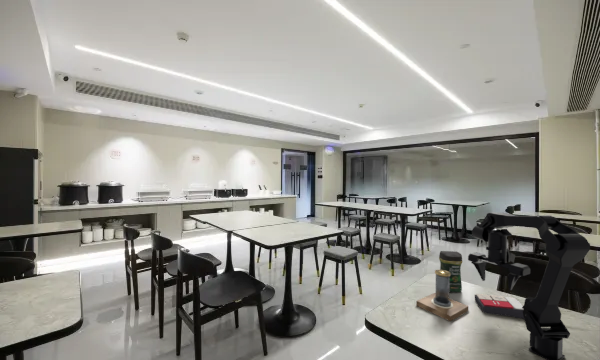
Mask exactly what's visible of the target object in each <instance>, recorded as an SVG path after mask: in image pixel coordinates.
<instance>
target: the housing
mask: <svg viewBox="0 0 600 360" xmlns="http://www.w3.org/2000/svg"><path fill="white" fill-rule="evenodd" d="M434 273H435V290H434V291H435V292H434V293H435V298H434V299H433V301H434V303H435V304H437V305H439V306H443V307H450V306H451V301H450V300H449V299H450V292H449V276H450V272H448V271H445V270H440V269H435V270H434Z"/></svg>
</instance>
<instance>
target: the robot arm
mask: <svg viewBox="0 0 600 360" xmlns="http://www.w3.org/2000/svg"><path fill="white" fill-rule="evenodd" d="M481 221H482V222H476V225H475V226H474V227H473V228H472V230H471V235H472V236H473V238H474V239H478V240H481V241H483V242H486V243H487V246H486V247H485V250H487V255H486V254H484V253H480V252H472V253H471V252H470V253H469V254H468V256H467V260H468V262H471V264H472V265H473V266H474V268H475V269H476V271H477V273H478V275H479V276H480V278H481V281H482V282H485V281H486V266H487V264H491V265H494V266H496V267H500V268H505V269H506V270H507V269H508V271H509V272H508V273H507V277H508V282H507V283H508V284H507V285H508V290H509V291H512V290H513V288H514V286H515V285H516V283H517V281H518V280H519V278H520V277H525V276H527V275H530V274H531V268H530V266H529V265H527V264H522V263H520V262H515V258H516V254H514V253H512V252H510V248H508V246H507V245H508V237H512V236H513V235H512V233H511V232H510V231H509V230H508V228H512V227H513V228H514V227H521V228H523V227H526V228H536V229H537V232H538V235H539V236H538V237H539V238H540V239H541V240H542V241H543V242H544V243H545V244H546V246H545V252H546V254H547V255H548V258H549V259H548V263H547V265H546V268H545V271H544V274H543V276H542V279H541V282H540V285H539V289H538V290H537V293H536V296H535V297H526V298H525V299H524V303H523V304H524V305H523V307H522V308H523V316H524V319H523V320H524V323H525V327H526V330H527V331H528V332H530V333H529V348H528V351H529V352H531V353H534V354H536V355H537V356H539V357H541V358H543V359H545V360H563V359H565V358H566V355H564V354H563V349H564V348H563V347H564V346H563V342H564V341H563V340H564V339H569V337H570V335H571V333H570V331H569V329H568V328H567V326H566V325H565V323H564V322H563V321H562V312H561V309H560V307H559V303H560V301H561V298H562V295H563V293H564V290H565V288H566V285H567V282H568V280H569V277H570V275H571V273H572V269H573V268H574V266H575V265H577V264H578V263H579V262H581V261H583V260H584V259H585V257H586V256H587V254H588V253H589V251H590V250H591V243H590V242H589V241H588V239H587V238H586V237H585V236H583V235H582V234H580V233H579V232H578V231H577V230H576V229H574V228H572V227H570V226H568V225H567V224H564V223H563V222H561V221H560V220H559V219H558V218H556V217H555V216H552V215H514V214H512V213H507V212H488V213H486V215H485V216H484V218H483V220H481ZM551 231H552V232H551ZM553 232H554V233H553Z"/></svg>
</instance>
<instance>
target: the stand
mask: <svg viewBox="0 0 600 360" xmlns="http://www.w3.org/2000/svg"><path fill="white" fill-rule="evenodd" d="M434 298H435V292H433V293H430V294H429V295H427V296H424V297H422V298H419V299H417V300H416V303H415V304H416V307H419V308H421V309H423V310H425V311H426V312H430V313H431V314H434V315H435V316H438V317H439V318H440V317H441V318H442V319H444V320H446V321H448V322H452V321H453V320H455V319H457V318H459V317H461V316H462V315H464V314H466V313H467V312H469V305H467V304H464V303H462V302H459V301H456V300H454V299H452V298H449V300H450V301H451V306H450V307H443V306H439V305H437V304H435V303H434V301H433V299H434Z"/></svg>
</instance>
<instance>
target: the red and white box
mask: <svg viewBox="0 0 600 360" xmlns="http://www.w3.org/2000/svg"><path fill="white" fill-rule="evenodd" d="M474 301H475V303H476V304H477V306H478V307H479V309H480V310H481V311H482V313H485V314H491V315H495V316H503V317H512V318H516V319H521V320H522V319H523V320H524V316H523V308H522V307H523V306H524V305H523V304H522V303H521V302H520V301H519V300H518V299H517V298H516V297H510V296H502V295H495V294H494V295H493V294H490V295H489V294H484V293H483V294H482V293H476V294H474Z"/></svg>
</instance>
